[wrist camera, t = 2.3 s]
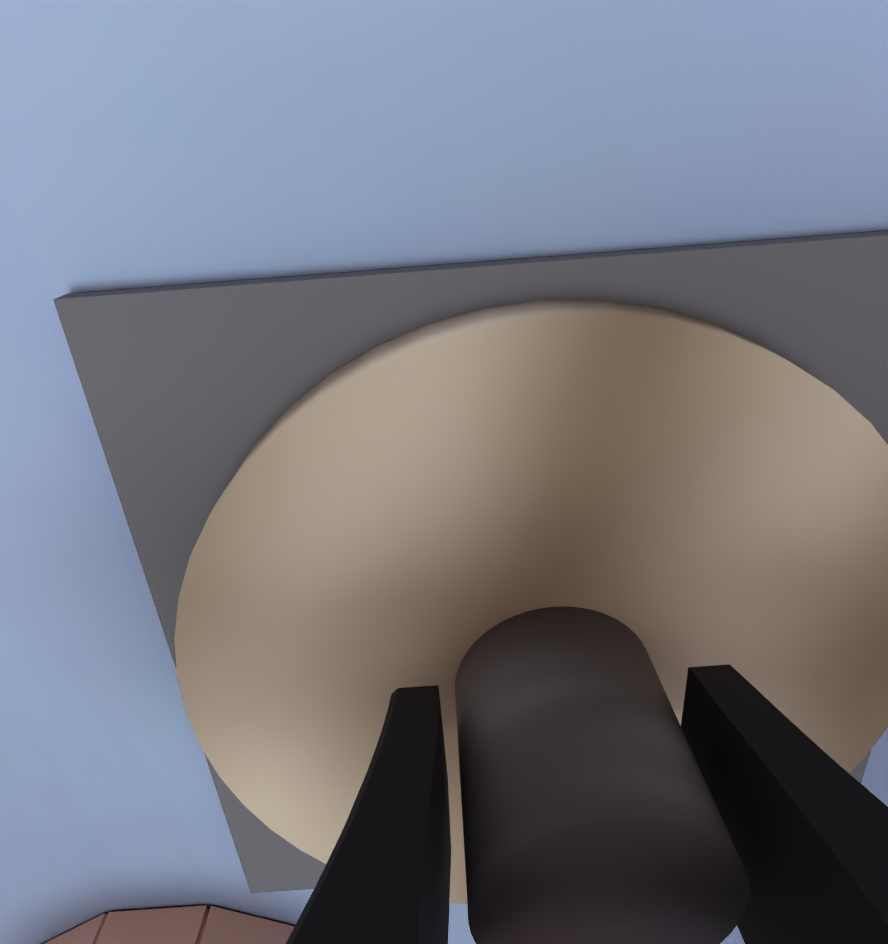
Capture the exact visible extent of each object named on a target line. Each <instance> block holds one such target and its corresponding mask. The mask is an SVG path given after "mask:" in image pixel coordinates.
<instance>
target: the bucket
mask: <svg viewBox="0 0 888 944" xmlns="http://www.w3.org/2000/svg"><path fill="white" fill-rule="evenodd" d="M294 927H295V926H291V925H287V924H283V923H279V922H275V921H271V920H267V919H263V918H259V917H255V916H251V915H246V914H242V913H238V912H234V911H230V910H226V909H222V908H218V907H214V906H211V907H210V908H209V909H207V906H206V905H204V906H190V907H175V908H161V909H146V910H132V911H117V912H109V913H108V915H107V914H105V913H104V914H102V915H100V916H98V917H96V918H94V919H92V920H90V921H88V922H86V923H84V924H82V925H80V926H78V927H76V928H74V929H72V930H70V931H68V932H66V933H64V934H62V935H60V936H58V937H56V938H54V939H52V940H50V941H48V942H46V943H44V944H286V942H287V940H288V938H289V936H290V934H291V933H292V931H293V929H294Z"/></svg>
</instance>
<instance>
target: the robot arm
mask: <svg viewBox="0 0 888 944" xmlns="http://www.w3.org/2000/svg"><path fill="white" fill-rule="evenodd" d="M681 728H682V730H683V732H684V735H685V737H686V739H687V741H688V744H689V746H690V748H691V750H692V753H693V755H694V757H695V759H696V761H697V764H698V766H699V768H700V770H701V773H702V775H703V777H704V779H705V781H706V784H707V786H708V788H709V790H710V793H711V795H712V797H713V799H714V801H715V804H716V806H717V808H718V810H719V813H720V815H721V817H722V819H723V822H724V824H725V826H726V828H727V830H728V833H729V835H730V837H731V839H732V842H733V844H734V846H735V848H736V850H737V853H738V855H739V857H740V859H741V862H742V864H743V866H744V868H745V871H746V874H747V877H748V882H749V897H748V903H747V906H746V909H745V912H744V914H743V915H742V917H741V919H740V921H739V923H738V924H737V926H738V928H739V931H740V933H741V935H742V937H743V940H744V942H745V944H888V807H887V806H886V805H885V804H884V803H883V802H881V801H880V800H879V799H878V798H877V797H876V796H874V795H873V794H872V793H871V792H870V791H869V790H868V789H866V788H865V787H864V786H863V785H862V784H861V783H859V782H858V781H857V780H856V779H855V778H854V777H853V776H851V775H850V774H849V773H848V772H847V771H846V770H845V769H843V768H842V767H841V766H840V765H839V764H838V763H837V762H835V761H834V760H833V759H832V758H831V757H830V756H829V755H828V754H826V753H825V752H824V751H823V750H822V749H821V748H820V747H819V746H818V745H816V744H815V743H814V742H813V741H812V740H811V739H810V738H809V737H808V736H807V735H805V734H804V733H803V732H802V731H801V730H800V729H799V728H798V727H797V726H796V725H795V724H794V723H792V722H791V721H790V720H789V719H788V718H787V717H786V716H785V715H784V714H783V713H782V712H781V711H779V710H778V709H777V708H776V707H775V706H774V705H773V704H772V703H771V702H770V701H769V700H768V699H767V698H766V697H764V696H763V695H762V694H761V693H760V692H759V691H758V690H757V689H756V688H755V687H754V686H753V685H752V684H750V683H749V682H748V681H747V680H746V679H745V678H744V677H743V676H742V675H741V674H740V673H739V672H737V671H736V670H735V669H734V668H733V667H732V666H731V665H730V664H727V665H713V666H699V667H688V673H687V681H686V689H685V697H684V705H683V713H682V721H681ZM450 873H451V834H450V812H449V791H448V775H447V765H446V755H445V745H444V734H443V724H442V714H441V704H440V694H439V685H433V686H419V687H405V688H398V689H396V690H395V691H394V692H393V693H392V694H391V698H390V702H389V707H388V710H387V714H386V717H385V721H384V724H383V728H382V731H381V734H380V737H379V740H378V743H377V746H376V749H375V751H374V754H373V757H372V759H371V762H370V765H369V768H368V770H367V773H366V775H365V778H364V780H363V783H362V785H361V787H360V790H359V792H358V795H357V797H356V800H355V802H354V804H353V807H352V809H351V812H350V814H349V816H348V819H347V821H346V823H345V826H344V828H343V830H342V832H341V835H340V837H339V839H338V841H337V843H336V845H335V847H334V849H333V851H332V853H331V855H330V857H329V860H328V862H327V864H326V866H325V868H324V870H323V872H322V874H321V876H320V878H319V880H318V882H317V884H316V887H315V889H314V891H313V893H312V895H311V897H310V899H309V900H308V902H307V904H306V906H305V908H304V910H303V912H302V914H301V916H300V918H299V920H298V921H297V923H296V925H295V927H294V929H293V931H292V933H291V934H290V936H289V938H288V940H287V942H286V944H448V923H449V898H450Z"/></svg>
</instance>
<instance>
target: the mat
mask: <svg viewBox="0 0 888 944" xmlns="http://www.w3.org/2000/svg"><path fill="white" fill-rule="evenodd" d="M53 300H54V303H55V306H56V309H57V312H58V315H59V318H60V321H61V324H62V327H63V330H64V333H65V336H66V339H67V342H68V345H69V348H70V351H71V354H72V357H73V360H74V363H75V366H76V369H77V372H78V375H79V378H80V381H81V384H82V387H83V390H84V393H85V396H86V399H87V402H88V405H89V408H90V411H91V414H92V417H93V420H94V423H95V426H96V429H97V432H98V435H99V438H100V441H101V444H102V447H103V450H104V453H105V456H106V459H107V462H108V465H109V468H110V471H111V474H112V477H113V480H114V483H115V486H116V489H117V492H118V495H119V498H120V501H121V504H122V507H123V510H124V513H125V516H126V519H127V522H128V525H129V528H130V531H131V534H132V537H133V540H134V543H135V546H136V549H137V552H138V555H139V558H140V561H141V564H142V567H143V570H144V573H145V576H146V579H147V582H148V585H149V588H150V591H151V594H152V597H153V601H154V604H155V607H156V610H157V613H158V616H159V619H160V622H161V625H162V628H163V631H164V634H165V637H166V640H167V643H168V646H169V649H170V652H171V655H172V658H173V661H174V664H175V667H176V654H175V640H174V637H175V627H176V617H177V607H178V597H179V594H180V590H181V587H182V583H183V580H184V576H185V572H186V569H187V565H188V562H189V558H190V555H191V553H192V551H193V549H194V547H195V545H196V542H197V540H198V538H199V536H200V534H201V532H202V530H203V528H204V526H205V523H206V521H207V519H208V517H209V515H210V513H211V511H212V510H213V508H214V506H215V505H216V503H217V501H218V499H219V498H220V496H221V494H222V493H223V491H224V489H225V488H226V486H227V484H228V482H229V481H230V479H231V478H232V476H233V475H234V474H235V472H236V471H237V469H238V468H239V466H240V465H241V463H242V462H243V460H244V459H245V457H246V456H247V455H248V453H249V452H250V450H251V449H252V447H253V446H254V444H255V443H256V442H257V441H258V440H259V439H260V438H261V436H262V435H263V434H264V433H265V432H266V431H267V430H268V429H269V428H270V427H271V426H272V425H273V424H274V422H275V421H276V420H277V419H278V418H279V417H280V416H281V415H282V414H283V413H284V412H285V411H286V410H287V409H288V407H290V406H291V405H292V404H293V403H295V402H296V401H297V400H298V399H300V398H301V397H302V396H303V395H305V394H306V393H307V392H308V391H309V390H311V389H312V388H313V387H314V386H316V385H317V384H318V383H319V382H321V381H322V380H323V379H324V378H326V377H327V376H328V375H329V374H331V373H333V372H334V371H336V370H338V369H339V368H341V367H343V366H344V365H346V364H348V363H349V362H351V361H353V360H354V359H356V358H358V357H359V356H361V355H363V354H364V353H366V352H368V351H369V350H371V349H373V348H374V347H376V346H379V345H381V344H383V343H385V342H388V341H390V340H392V339H395V338H397V337H399V336H402V335H404V334H406V333H409V332H411V331H413V330H416V329H418V328H420V327H423V326H425V325H427V324H431V323H434V322H438V321H441V320H445V319H448V318H452V317H456V316H459V315H463V314H466V313H470V312H473V311H477V310H480V309H484V308H491V307H498V306H505V305H512V304H519V303H526V302H533V301H540V300H606V301H614V302H622V303H630V304H638V305H646V306H654V307H658V308H662V309H665V310H669V311H673V312H676V313H680V314H684V315H688V316H691V317H695V318H699V319H702V320H706V321H709V322H711V323H713V324H716V325H718V326H720V327H722V328H725V329H727V330H729V331H732V332H734V333H736V334H738V335H741V336H743V337H745V338H748V339H750V340H752V341H755V342H756V343H758V344H760V345H762V346H763V347H765V348H767V349H769V350H770V351H772V352H774V353H776V354H777V355H779V356H781V357H783V358H784V359H786V360H788V361H790V362H791V363H793V364H794V365H796V366H797V367H799V368H801V369H802V370H804V371H805V372H807V373H808V374H810V375H812V376H813V377H815V378H816V379H818V380H819V381H821V382H822V383H824V384H826V385H827V386H829V387H830V388H832V389H833V390H835V391H836V392H837V393H838V394H839V395H840V396H841V397H843V398H844V399H845V400H846V401H847V402H848V403H849V404H850V405H851V406H852V407H854V408H855V409H856V410H857V411H858V412H859V413H860V414H861V415H862V416H863V417H865V418H866V419H867V420H868V421H869V422H870V423H871V424H872V425H873V426H874V428H875V429H876V430H877V432H878V433H879V434H880V436H881V437H882V438H883V440H884V441H885V442H886V443H887V445H888V231H876V232H863V233H850V234H837V235H824V236H811V237H798V238H785V239H772V240H759V241H746V242H733V243H720V244H707V245H694V246H681V247H668V248H655V249H642V250H629V251H616V252H603V253H590V254H577V255H564V256H551V257H538V258H525V259H512V260H499V261H486V262H473V263H460V264H447V265H434V266H421V267H408V268H395V269H382V270H369V271H356V272H343V273H330V274H317V275H304V276H291V277H278V278H265V279H252V280H239V281H226V282H213V283H200V284H187V285H174V286H161V287H148V288H135V289H122V290H109V291H96V292H83V293H70V294H66V295H63V296H61V297H58V298H56V299H53ZM176 670H177V668H176ZM870 752H871V750H870V751H869V752H868V754H867V755H866V756H865V758H864V759H863V760H862V761H861V762H860V763H859V764H858V765H857V766H856V767H855V768H854V769H853V770H852V771H851V772H850V773H849V774H850V775H851V776H853V777H854V778H855V779H856V780H857V781H858V782H859V783H861V780H862V777H863V774H864V771H865V768H866V764H867V761H868V758H869V755H870ZM204 754H205V753H204ZM205 757H206V760H207V763H208V766H209V769H210V772H211V775H212V778H213V781H214V784H215V787H216V790H217V793H218V796H219V799H220V802H221V805H222V808H223V811H224V814H225V817H226V820H227V823H228V826H229V829H230V832H231V835H232V838H233V841H234V844H235V847H236V850H237V853H238V856H239V859H240V862H241V865H242V868H243V871H244V874H245V877H246V880H247V883H248V886H249V889H250V892H251V893H258V892H272V891H287V890H302V889H315V887H316V884H317V882H318V880H319V878H320V876H321V874H322V872H323V870H324V868H325V866H326V864H325V863H323V862H321V861H319V860H317V859H316V858H314V857H312V856H310V855H308V854H306V853H305V852H303V851H301V850H299V849H298V848H296V847H295V846H294V845H292V844H291V843H289V842H288V841H286V840H285V839H284V838H282V837H281V836H279V835H278V834H277V833H275V832H274V831H272V830H271V829H270V828H268V827H267V826H266V825H265V824H264V823H263V822H262V821H261V820H260V819H258V818H257V817H256V816H255V815H254V814H253V813H252V812H251V811H250V810H248V809H247V808H246V807H245V806H244V805H243V804H242V803H241V802H240V800H239V799H238V798H237V797H236V796H235V794H234V793H233V792H232V791H231V790H230V789H229V787H228V786H227V785H226V784H225V783H224V782H223V780H222V779H221V778H220V777H219V775H218V773H217V772H216V770H215V769H214V767H213V766H212V764H211V762H210V761H209V759H208V758H207V756H206V754H205Z"/></svg>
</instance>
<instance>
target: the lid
mask: <svg viewBox="0 0 888 944" xmlns="http://www.w3.org/2000/svg"><path fill="white" fill-rule="evenodd" d="M174 640H175V654H176V668H177V678H178V682H179V686H180V690H181V694H182V698H183V702H184V706H185V710H186V714H187V716H188V719H189V721H190V723H191V725H192V728H193V730H194V732H195V735H196V737H197V739H198V742H199V744H200V746H201V748H202V750H203V751H204V753H205V754H206V756H207V758H208V759H209V761H210V762H211V764H212V766H213V767H214V769H215V770H216V772H217V773H218V775H219V777H220V778H221V779H222V780H223V782H224V783H225V784H226V785H227V786H228V787H229V789H230V790H231V791H232V792H233V793H234V794H235V796H236V797H237V798H238V799H239V800H240V802H241V803H242V804H243V805H244V806H245V807H246V808H247V809H248V810H250V811H251V812H252V813H253V814H254V815H255V816H256V817H257V818H258V819H260V820H261V821H262V822H263V823H264V824H265V825H266V826H267V827H268V828H270V829H271V830H272V831H274V832H275V833H277V834H278V835H279V836H281V837H282V838H284V839H285V840H286V841H288V842H289V843H291V844H292V845H294V846H295V847H296V848H298V849H299V850H301V851H303V852H305V853H306V854H308V855H310V856H312V857H314V858H316V859H317V860H319V861H321V862H323V863H325V864H327V862H328V860H329V857H330V855H331V853H332V851H333V849H334V847H335V845H336V843H337V841H338V839H339V837H340V835H341V832H342V830H343V828H344V826H345V823H346V821H347V819H348V816H349V814H350V812H351V809H352V807H353V804H354V802H355V800H356V797H357V795H358V792H359V790H360V787H361V785H362V783H363V780H364V778H365V775H366V773H367V770H368V768H369V765H370V762H371V759H372V757H373V754H374V751H375V749H376V746H377V743H378V740H379V737H380V734H381V731H382V728H383V724H384V721H385V717H386V714H387V710H388V707H389V702H390V698H391V694H392V693H393V692H394V691H395V690H396V689H398V688H405V687H419V686H433V685H439V694H440V704H441V714H442V724H443V734H444V745H445V755H446V765H447V775H448V791H449V812H450V834H451V873H450V898H449V902H452V903H460V904H468V920H469V926H470V931H471V934H472V936H473V938H474V940H475V942H476V944H720V943H721V942H722V941H723V940H724V939H725V938H726V937H727V936H728V935H729V934H730V933H731V932H732V931H733V929H734V928H735V927H736V925H737V924H738V923H739V921H740V919H741V917H742V915H743V914H744V912H745V909H746V906H747V903H748V897H749V882H748V877H747V874H746V871H745V868H744V866H743V864H742V862H741V859H740V857H739V855H738V853H737V850H736V848H735V846H734V844H733V842H732V839H731V837H730V835H729V833H728V830H727V828H726V826H725V824H724V822H723V819H722V817H721V815H720V813H719V810H718V808H717V806H716V804H715V801H714V799H713V797H712V795H711V793H710V790H709V788H708V786H707V784H706V781H705V779H704V777H703V775H702V773H701V770H700V768H699V766H698V764H697V761H696V759H695V757H694V755H693V753H692V750H691V748H690V746H689V744H688V741H687V739H686V737H685V735H684V732H683V730H682V728H681V721H682V713H683V705H684V697H685V689H686V681H687V673H688V667H699V666H713V665H727V664H730V665H731V666H732V667H733V668H734V669H735V670H736V671H737V672H739V673H740V674H741V675H742V676H743V677H744V678H745V679H746V680H747V681H748V682H749V683H750V684H752V685H753V686H754V687H755V688H756V689H757V690H758V691H759V692H760V693H761V694H762V695H763V696H764V697H766V698H767V699H768V700H769V701H770V702H771V703H772V704H773V705H774V706H775V707H776V708H777V709H778V710H779V711H781V712H782V713H783V714H784V715H785V716H786V717H787V718H788V719H789V720H790V721H791V722H792V723H794V724H795V725H796V726H797V727H798V728H799V729H800V730H801V731H802V732H803V733H804V734H805V735H807V736H808V737H809V738H810V739H811V740H812V741H813V742H814V743H815V744H816V745H818V746H819V747H820V748H821V749H822V750H823V751H824V752H825V753H826V754H828V755H829V756H830V757H831V758H832V759H833V760H834V761H835V762H837V763H838V764H839V765H840V766H841V767H842V768H843V769H845V770H846V771H847V772H848V773H850V772H851V771H852V770H853V769H854V768H855V767H856V766H857V765H858V764H859V763H860V762H861V761H862V760H863V759H864V758H865V756H866V755H867V754H868V752H869V751H870V750H871V748H872V747H873V746H874V744H875V743H876V742H877V741H878V739H879V738H880V737H881V735H882V734H883V733H884V731H885V730H886V729H887V727H888V445H887V443H886V442H885V441H884V440H883V438H882V437H881V436H880V434H879V433H878V432H877V430H876V429H875V428H874V426H873V425H872V424H871V423H870V422H869V421H868V420H867V419H866V418H865V417H863V416H862V415H861V414H860V413H859V412H858V411H857V410H856V409H855V408H854V407H852V406H851V405H850V404H849V403H848V402H847V401H846V400H845V399H844V398H843V397H841V396H840V395H839V394H838V393H837V392H836V391H835V390H833V389H832V388H830V387H829V386H827V385H826V384H824V383H822V382H821V381H819V380H818V379H816V378H815V377H813V376H812V375H810V374H808V373H807V372H805V371H804V370H802V369H801V368H799V367H797V366H796V365H794V364H793V363H791V362H790V361H788V360H786V359H784V358H783V357H781V356H779V355H777V354H776V353H774V352H772V351H770V350H769V349H767V348H765V347H763V346H762V345H760V344H758V343H756V342H755V341H752V340H750V339H748V338H745V337H743V336H741V335H738V334H736V333H734V332H732V331H729V330H727V329H725V328H722V327H720V326H718V325H716V324H713V323H711V322H709V321H706V320H702V319H699V318H695V317H691V316H688V315H684V314H680V313H676V312H673V311H669V310H665V309H662V308H658V307H654V306H646V305H638V304H630V303H622V302H614V301H606V300H540V301H533V302H526V303H519V304H512V305H505V306H498V307H491V308H484V309H480V310H477V311H473V312H470V313H466V314H463V315H459V316H456V317H452V318H448V319H445V320H441V321H438V322H434V323H431V324H427V325H425V326H423V327H420V328H418V329H416V330H413V331H411V332H409V333H406V334H404V335H402V336H399V337H397V338H395V339H392V340H390V341H388V342H385V343H383V344H381V345H379V346H376V347H374V348H373V349H371V350H369V351H368V352H366V353H364V354H363V355H361V356H359V357H358V358H356V359H354V360H353V361H351V362H349V363H348V364H346V365H344V366H343V367H341V368H339V369H338V370H336V371H334V372H333V373H331V374H329V375H328V376H327V377H326V378H324V379H323V380H322V381H321V382H319V383H318V384H317V385H316V386H314V387H313V388H312V389H311V390H309V391H308V392H307V393H306V394H305V395H303V396H302V397H301V398H300V399H298V400H297V401H296V402H295V403H293V404H292V405H291V406H290V407H288V409H287V410H286V411H285V412H284V413H283V414H282V415H281V416H280V417H279V418H278V419H277V420H276V421H275V422H274V424H273V425H272V426H271V427H270V428H269V429H268V430H267V431H266V432H265V433H264V434H263V435H262V436H261V438H260V439H259V440H258V441H257V442H256V443H255V444H254V446H253V447H252V449H251V450H250V452H249V453H248V455H247V456H246V457H245V459H244V460H243V462H242V463H241V465H240V466H239V468H238V469H237V471H236V472H235V474H234V475H233V476H232V478H231V479H230V481H229V482H228V484H227V486H226V488H225V489H224V491H223V493H222V494H221V496H220V498H219V499H218V501H217V503H216V505H215V506H214V508H213V510H212V511H211V513H210V515H209V517H208V519H207V521H206V523H205V526H204V528H203V530H202V532H201V534H200V536H199V538H198V540H197V542H196V545H195V547H194V549H193V551H192V553H191V555H190V558H189V562H188V565H187V569H186V572H185V576H184V580H183V583H182V587H181V590H180V594H179V597H178V607H177V617H176V627H175V637H174Z"/></svg>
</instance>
